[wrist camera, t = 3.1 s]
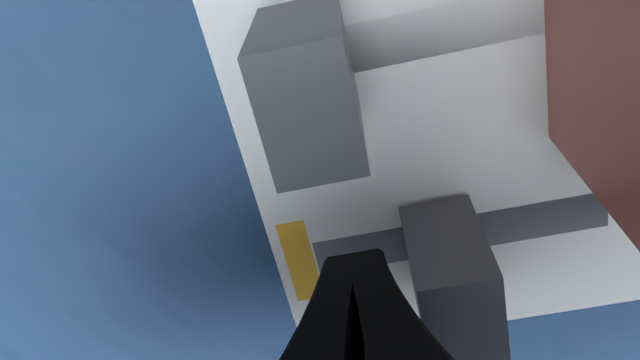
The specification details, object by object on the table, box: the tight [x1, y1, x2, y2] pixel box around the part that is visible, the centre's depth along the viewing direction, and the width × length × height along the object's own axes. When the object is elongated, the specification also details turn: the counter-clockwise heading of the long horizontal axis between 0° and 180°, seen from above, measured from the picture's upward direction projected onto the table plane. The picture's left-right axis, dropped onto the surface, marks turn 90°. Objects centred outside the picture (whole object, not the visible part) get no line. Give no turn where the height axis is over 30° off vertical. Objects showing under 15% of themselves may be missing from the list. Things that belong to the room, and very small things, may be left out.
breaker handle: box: [398, 194, 511, 360], centre depth 13 cm, size 2×2×3 cm
